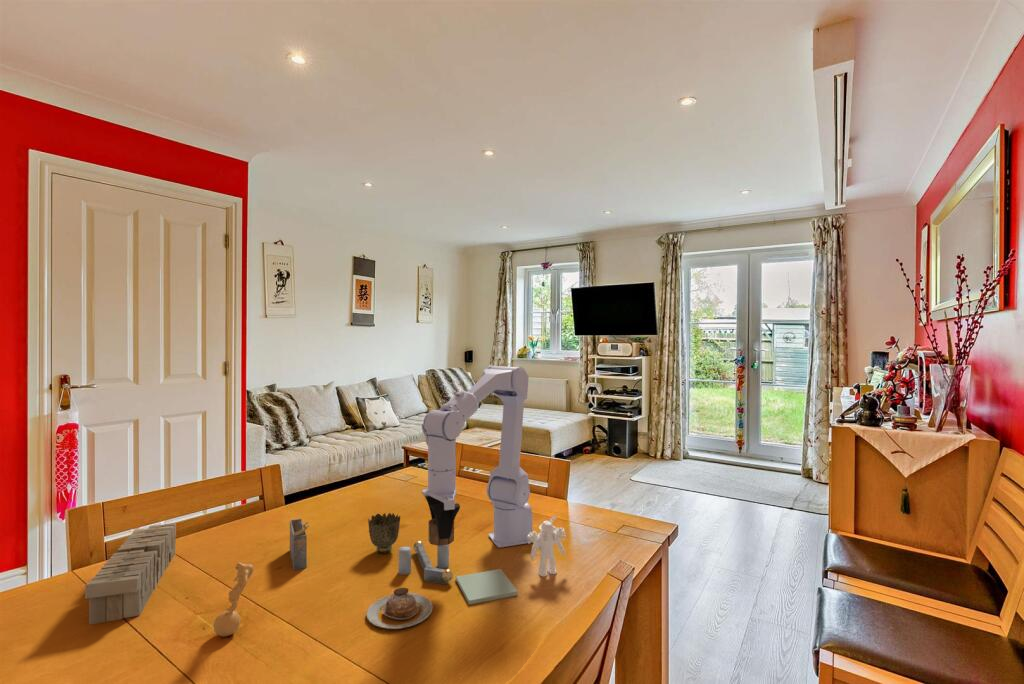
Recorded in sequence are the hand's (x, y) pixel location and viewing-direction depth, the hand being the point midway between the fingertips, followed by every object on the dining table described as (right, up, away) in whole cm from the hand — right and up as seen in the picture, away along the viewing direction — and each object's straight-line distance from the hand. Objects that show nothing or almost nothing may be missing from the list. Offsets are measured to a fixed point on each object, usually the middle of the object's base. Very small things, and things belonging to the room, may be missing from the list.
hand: (441, 533), depth 103 cm
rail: (-3, -10, +7) cm, 13 cm away
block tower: (-62, -11, -2) cm, 63 cm away
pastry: (-6, -11, -11) cm, 17 cm away
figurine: (-33, -11, -18) cm, 39 cm away
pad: (+9, -10, -2) cm, 14 cm away
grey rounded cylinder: (-9, -10, +5) cm, 14 cm away
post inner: (-1, -10, +8) cm, 13 cm away
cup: (-16, -10, +15) cm, 24 cm away
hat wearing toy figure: (+22, -11, +5) cm, 25 cm away
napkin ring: (0, -2, 0) cm, 2 cm away
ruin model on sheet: (-35, -11, +11) cm, 38 cm away
